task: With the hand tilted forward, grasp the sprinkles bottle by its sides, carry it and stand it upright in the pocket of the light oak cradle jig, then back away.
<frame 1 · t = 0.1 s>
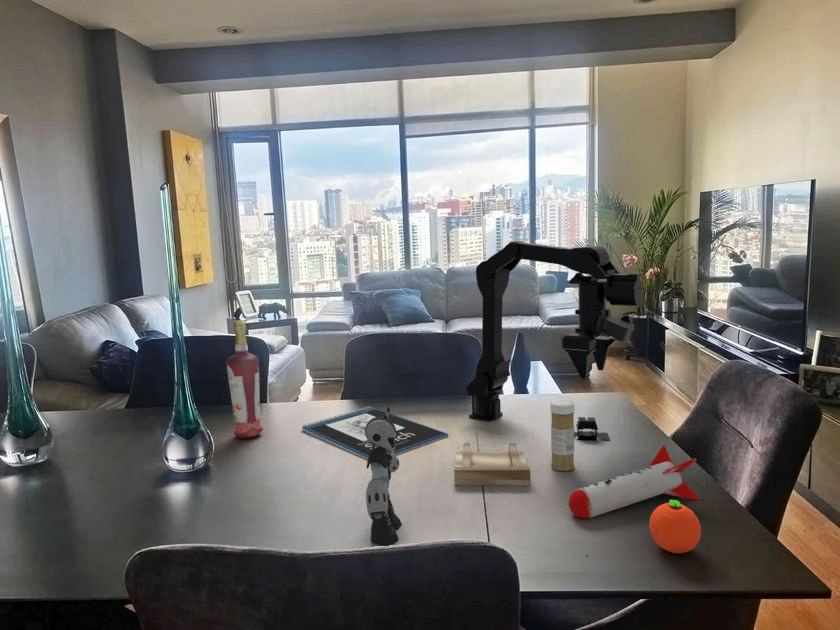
hand: (592, 374, 129), 15 cm above the table, tool pointing down, fingers open, 9 cm apart
robot: (385, 533, 94), on the table
clementine: (673, 549, 86), on the table
sprinkles bottle: (562, 468, 116), on the table
cradle jig: (490, 470, 116), on the table
sketchbook: (372, 435, 140), on the table
model rocket: (628, 506, 100), on the table
black angular piece: (586, 439, 133), on the table
liquor: (248, 436, 141), on the table
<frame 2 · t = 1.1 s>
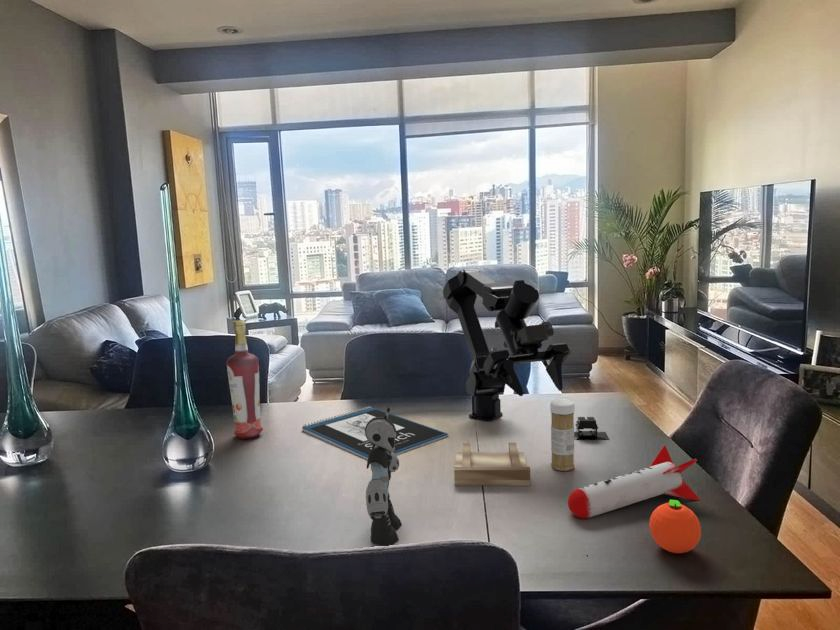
hand: (541, 392, 121), 13 cm above the table, tool tilted 45°, fingers open, 9 cm apart
nothing on the table moved.
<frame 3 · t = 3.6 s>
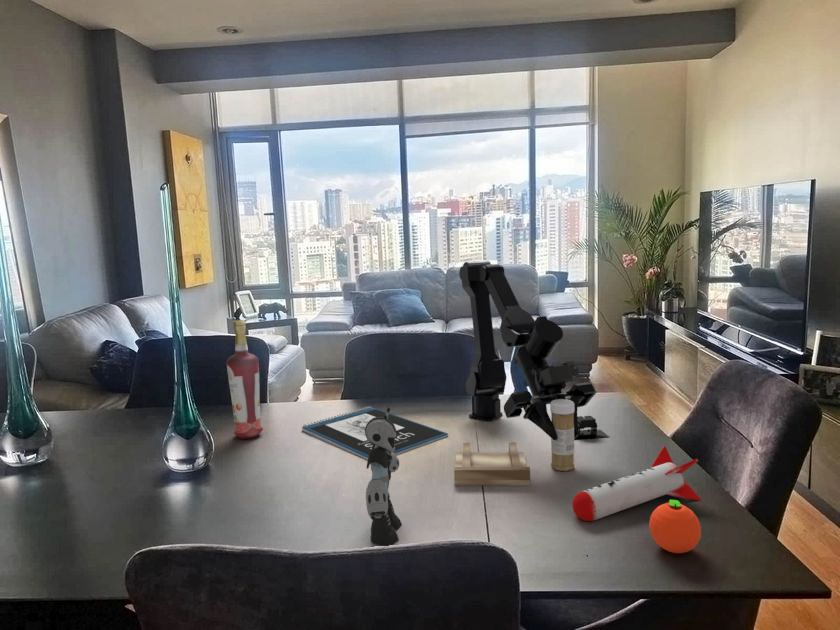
hand: (566, 437, 114), 7 cm above the table, tool tilted 45°, fingers closed on sprinkles bottle, 4 cm apart
sprinkles bottle: (562, 468, 116), on the table, touching gripper
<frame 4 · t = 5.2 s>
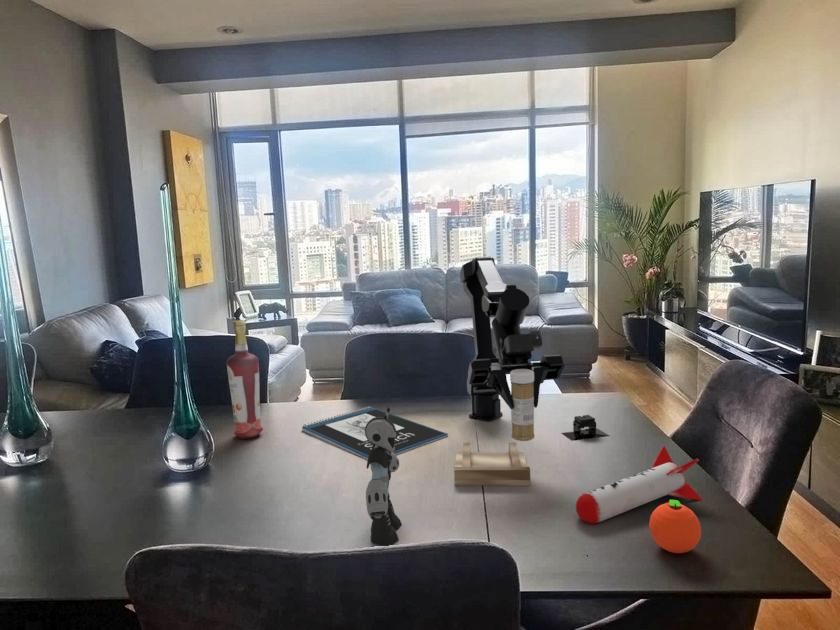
hand: (524, 407, 112), 13 cm above the table, tool tilted 45°, fingers closed on sprinkles bottle, 4 cm apart
sprinkles bottle: (522, 438, 115), point 6 cm above the table, touching gripper
when the fingers open (9 cm above the table, at t = 6.8 s): sprinkles bottle drops 1 cm, resting on cradle jig.
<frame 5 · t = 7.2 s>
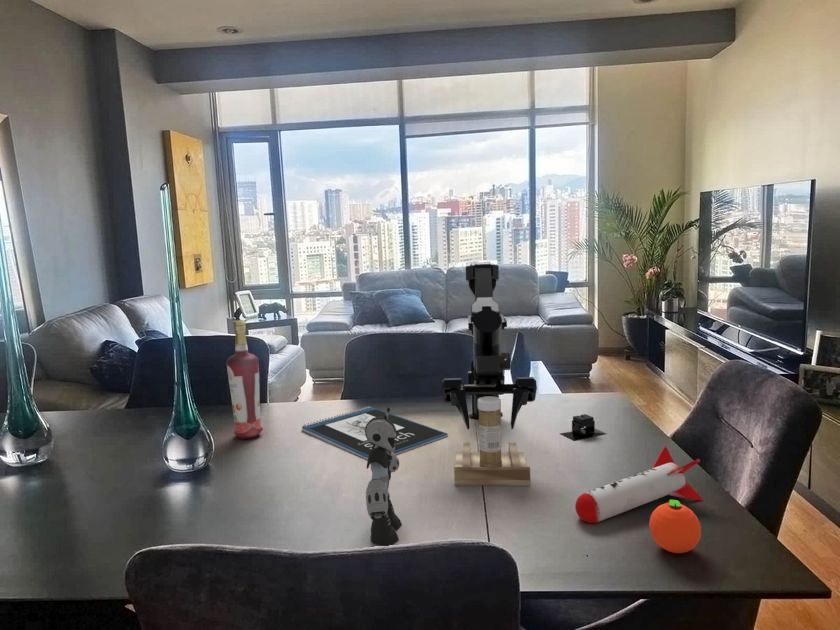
hand: (490, 428, 113), 9 cm above the table, tool tilted 45°, fingers open, 8 cm apart
sprinkles bottle: (490, 465, 116), point 1 cm above the table, touching cradle jig
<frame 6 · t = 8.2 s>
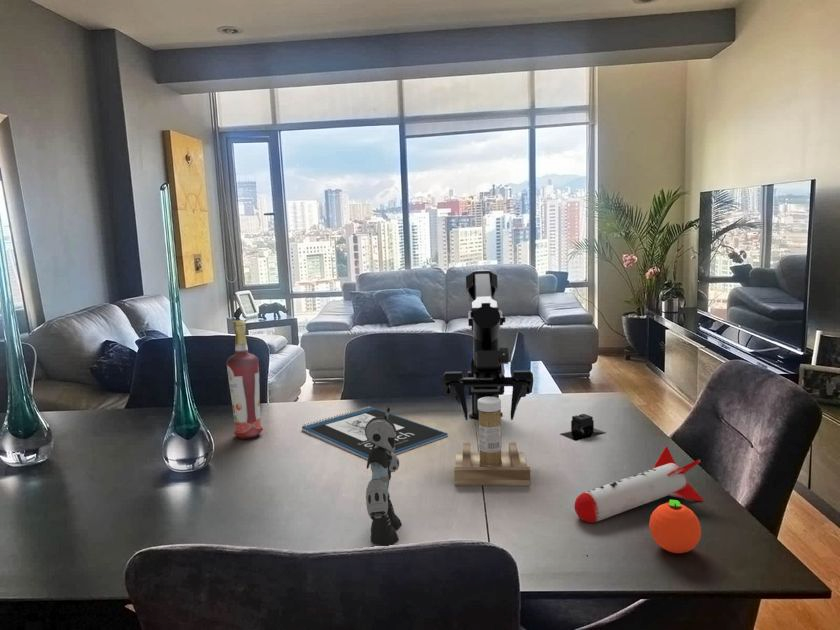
hand: (489, 419, 119), 9 cm above the table, tool tilted 45°, fingers open, 9 cm apart
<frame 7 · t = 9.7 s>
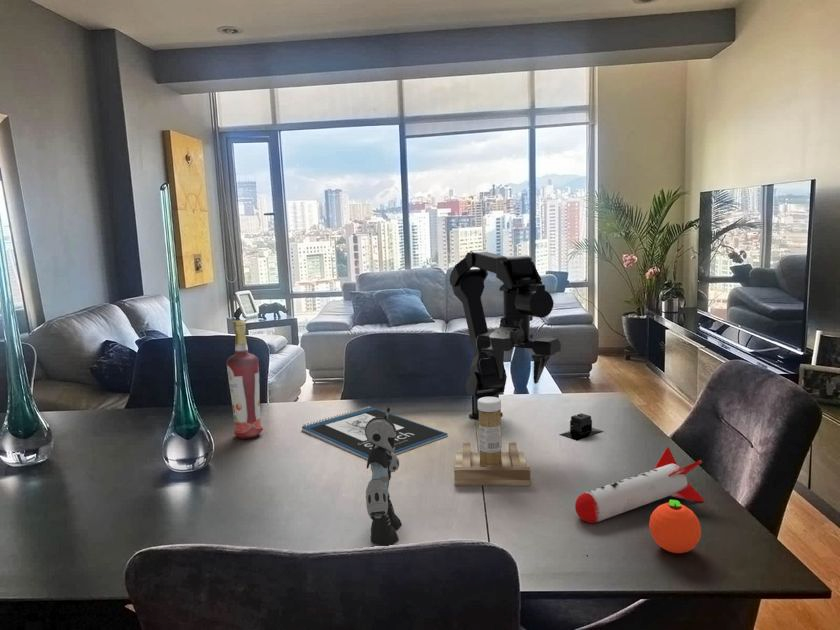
hand: (517, 380, 133), 13 cm above the table, tool pointing down, fingers open, 9 cm apart
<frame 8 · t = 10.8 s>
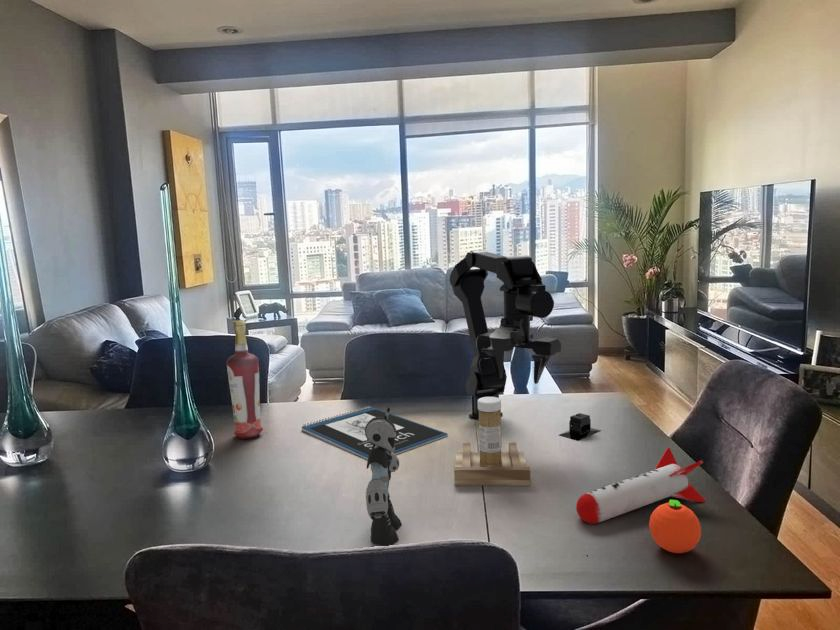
hand: (517, 380, 133), 13 cm above the table, tool pointing down, fingers open, 9 cm apart
at the end: sprinkles bottle 0.2 cm from the cradle jig (horizontally); sprinkles bottle tilted 0°; the gripper is holding nothing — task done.
